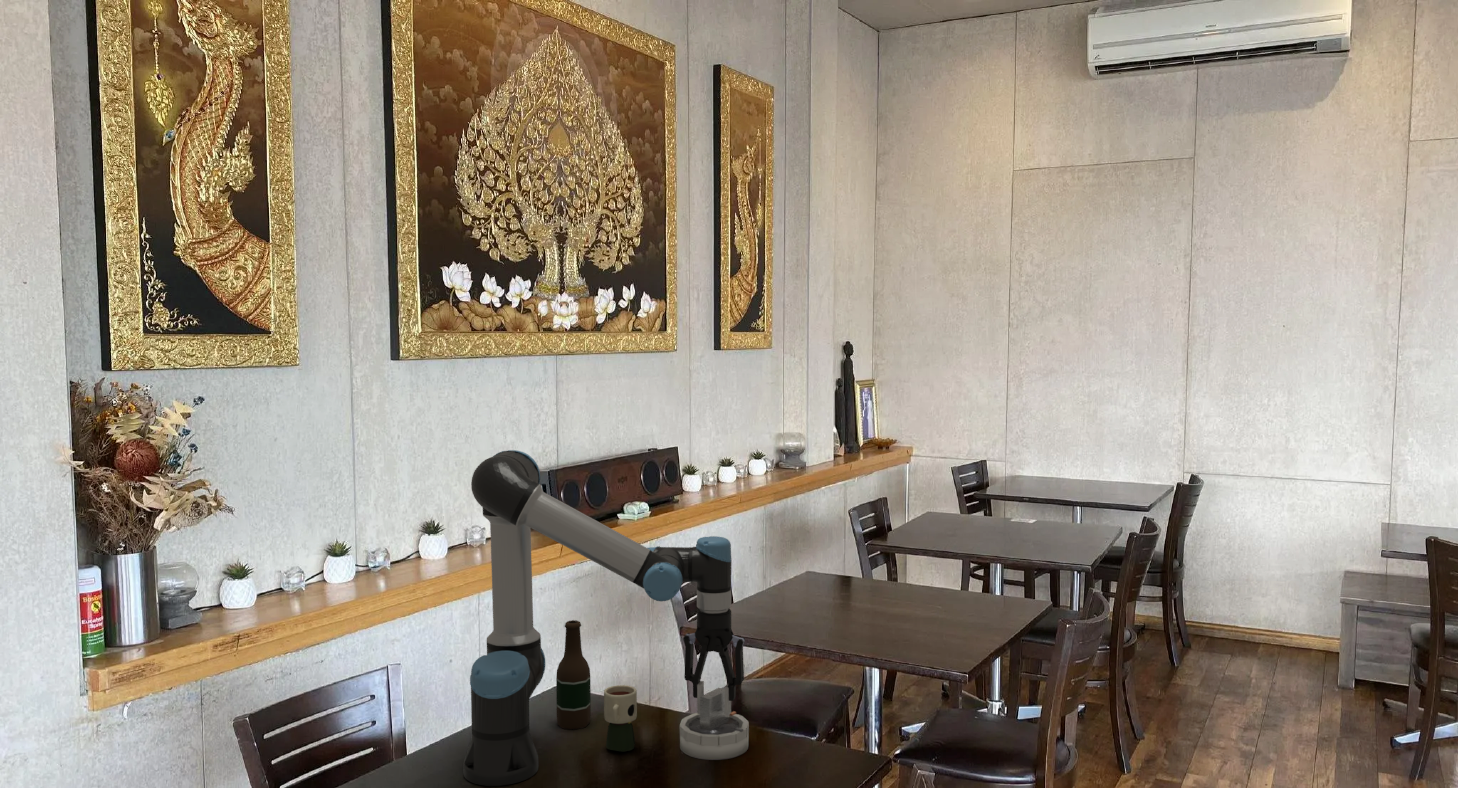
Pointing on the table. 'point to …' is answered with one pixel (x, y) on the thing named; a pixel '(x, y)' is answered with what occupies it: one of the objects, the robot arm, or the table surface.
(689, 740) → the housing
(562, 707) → the beer bottle
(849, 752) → the table surface
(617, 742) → the character mug
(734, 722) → the dial
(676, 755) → the table surface
